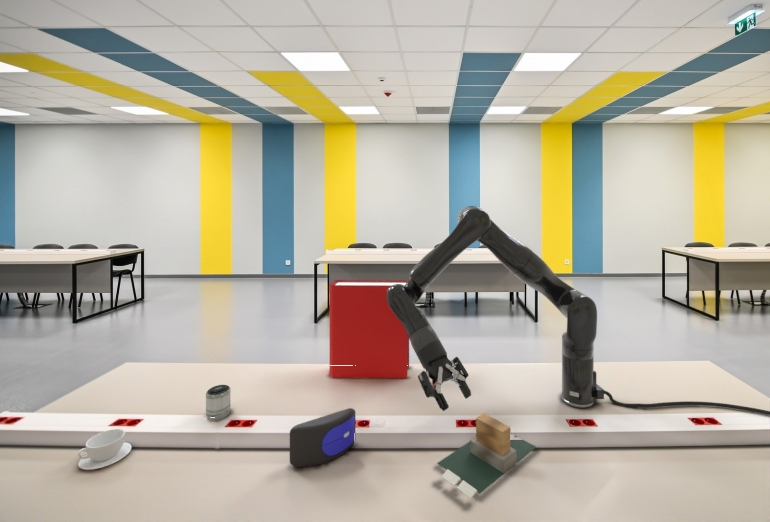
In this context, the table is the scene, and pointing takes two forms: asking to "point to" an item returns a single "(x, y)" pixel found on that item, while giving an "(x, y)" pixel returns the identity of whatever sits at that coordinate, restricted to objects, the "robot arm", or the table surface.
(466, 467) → the slate board
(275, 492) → the table surface
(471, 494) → the smudge
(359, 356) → the book
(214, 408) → the camera lens
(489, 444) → the eraser
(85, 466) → the teacup
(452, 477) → the white square tile
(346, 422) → the computer mouse
